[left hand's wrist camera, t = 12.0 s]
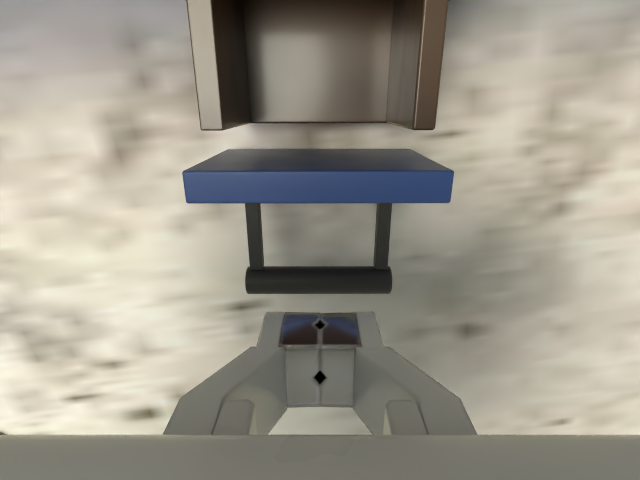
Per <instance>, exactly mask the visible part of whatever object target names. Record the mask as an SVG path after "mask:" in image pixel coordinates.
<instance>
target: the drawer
mask: <svg viewBox="0 0 640 480" xmlns="http://www.w3.org/2000/svg"><path fill="white" fill-rule="evenodd" d="M186 1H187V10H188V19H189V28H190V37H191V46H192V55H193V64H194V72H195V81H196V90H197V99H198V108H199V117H200V126H201V130H226V129H230V128H233V127H237V126H241V125H245V124H249V123H390V124H394V125H397V126H401V127H405V128H409V129H412V130H434V129H435V123H436V114H437V104H438V95H439V85H440V76H441V66H442V57H443V47H444V38H445V28H446V19H447V9H448V0H186ZM182 174H183V181H184V188H185V196H186V202H187V203H245V208H246V221H247V234H248V248H249V261H250V267H248V268H247V271H246V278H245V285H246V291H247V293H248V294H389V293H390V292H391V289H392V273H391V269H390V267H389V266H388V252H389V238H390V223H391V209H392V203H449V202H450V199H451V191H452V184H453V176H454V171H452V170H450V169H448V168H446V167H444V166H442V165H440V164H438V163H436V162H434V161H432V160H430V159H428V158H426V157H424V156H422V155H420V154H418V153H416V152H414V151H412V150H410V149H228V150H226V151H224V152H222V153H220V154H218V155H216V156H214V157H212V158H209V159H207V160H205V161H203V162H201V163H199V164H197V165H195V166H193V167H191V168H189V169H187V170H185V171H183V173H182ZM260 203H377V212H376V230H375V248H374V266H267V267H263V266H264V256H263V240H262V223H261V207H260Z"/></svg>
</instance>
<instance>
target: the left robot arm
mask: <svg viewBox="0 0 640 480" xmlns="http://www.w3.org/2000/svg"><path fill="white" fill-rule="evenodd" d="M319 406H320V407H353V409H354V411H355V412H356V413H357V415H358V416H359V417H360V418H361V420H362V421H363V422H364V424H365V425H366V426H367V427H368V429H369V430H370V431H371V433H372V434H373V435H267V434H268V433H269V432H270V430H271V429H272V428H273V426H274V425H275V424H276V423H277V421H278V420H279V419H280V417H281V416H282V415H283V414H284V412H285V411H286V410H287V407H319ZM0 480H640V435H477V433H476V431H475V429H474V427H473V425H472V423H471V420H470V418H469V416H468V414H467V412H466V410H465V408H464V406H463V404H462V402H461V400H460V398H459V397H457V396H456V395H454V394H453V393H452V392H450V391H449V390H448V389H446V388H445V387H443V386H442V385H441V384H439V383H438V382H437V381H435V380H434V379H432V378H431V377H430V376H428V375H427V374H426V373H424V372H423V371H421V370H420V369H419V368H417V367H416V366H415V365H413V364H412V363H410V362H409V361H408V360H406V359H405V358H404V357H402V356H401V355H399V354H398V353H397V352H395V351H394V350H393V349H391V348H390V347H384V346H383V342H382V339H381V335H380V331H379V328H378V324H377V320H376V316H375V313H374V312H352V313H302V312H285V313H284V312H267V313H266V314H265V316H264V320H263V323H262V327H261V331H260V335H259V338H258V342H257V346H256V347H250V348H249V349H247V350H246V351H245V352H243V353H242V354H241V355H239V356H238V357H236V358H235V359H234V360H232V361H231V362H229V363H228V364H227V365H225V366H224V367H223V368H221V369H220V370H218V371H217V372H216V373H214V374H213V375H212V376H210V377H209V378H207V379H206V380H205V381H203V382H202V383H200V384H199V385H198V386H196V387H195V388H194V389H192V390H191V391H189V392H188V393H187V394H185V395H184V396H183V397H181V398H180V400H179V402H178V404H177V406H176V408H175V410H174V412H173V414H172V416H171V419H170V421H169V423H168V425H167V427H166V429H165V431H164V433H163V435H0Z"/></svg>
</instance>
